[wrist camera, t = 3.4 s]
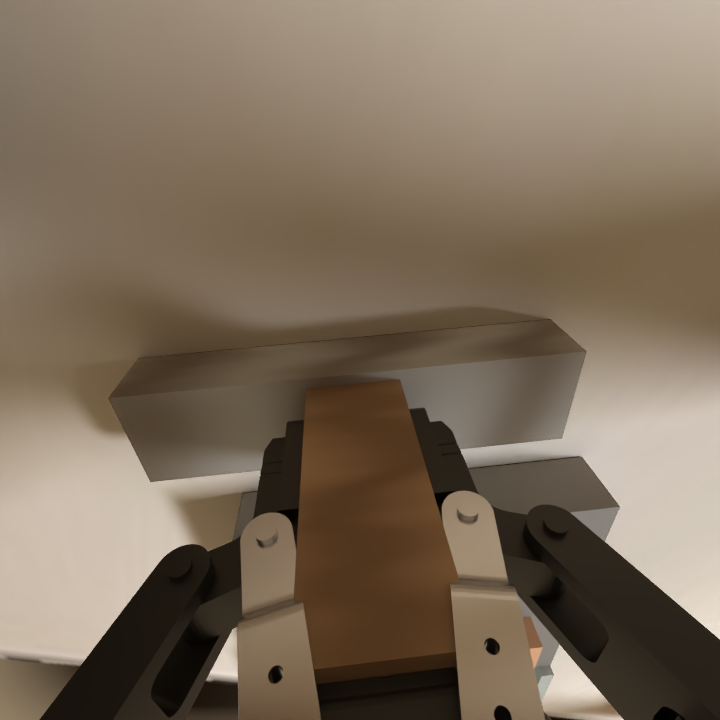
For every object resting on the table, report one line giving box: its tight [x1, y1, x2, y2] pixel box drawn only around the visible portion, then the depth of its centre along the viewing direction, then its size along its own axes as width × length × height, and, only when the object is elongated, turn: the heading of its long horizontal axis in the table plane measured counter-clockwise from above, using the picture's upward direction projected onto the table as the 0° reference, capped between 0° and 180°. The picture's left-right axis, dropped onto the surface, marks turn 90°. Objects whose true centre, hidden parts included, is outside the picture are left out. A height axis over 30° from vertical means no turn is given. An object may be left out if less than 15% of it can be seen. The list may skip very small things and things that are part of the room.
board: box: [233, 457, 620, 667], centre depth 23 cm, size 17×16×3 cm
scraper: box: [108, 319, 586, 684], centre depth 12 cm, size 16×4×10 cm, turn 94°
